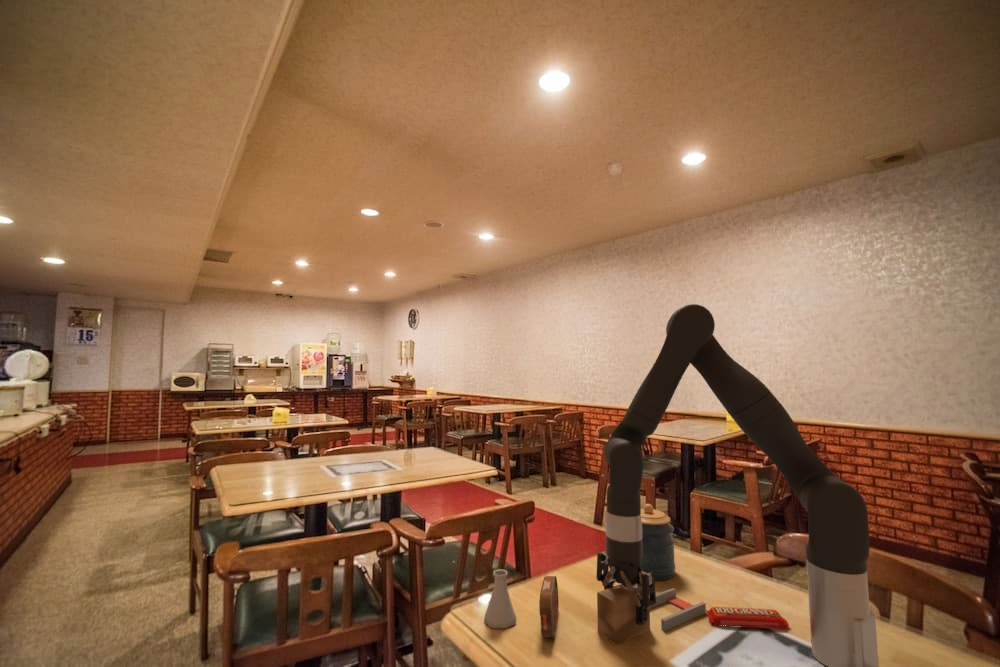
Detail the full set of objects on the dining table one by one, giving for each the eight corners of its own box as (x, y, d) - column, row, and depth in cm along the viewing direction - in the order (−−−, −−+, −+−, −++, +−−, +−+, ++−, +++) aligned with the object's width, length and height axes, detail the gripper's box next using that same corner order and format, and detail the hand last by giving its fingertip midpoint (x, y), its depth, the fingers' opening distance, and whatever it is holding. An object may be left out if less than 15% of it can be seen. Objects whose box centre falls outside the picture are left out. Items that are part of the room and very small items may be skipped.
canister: (642, 557, 131) (640, 495, 133) (684, 572, 121) (682, 504, 123) (615, 569, 123) (614, 503, 124) (658, 586, 113) (656, 514, 114)
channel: (705, 612, 100) (705, 603, 100) (664, 631, 93) (664, 620, 93) (673, 596, 107) (672, 587, 108) (632, 612, 100) (632, 603, 100)
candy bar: (711, 628, 95) (710, 613, 95) (705, 618, 98) (704, 604, 99) (791, 631, 93) (790, 616, 94) (781, 622, 97) (780, 607, 97)
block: (650, 630, 93) (649, 590, 94) (615, 645, 88) (614, 602, 89) (631, 619, 98) (630, 580, 98) (597, 632, 92) (597, 592, 93)
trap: (700, 610, 101) (700, 608, 101) (692, 614, 99) (692, 612, 99) (676, 598, 106) (676, 597, 106) (668, 602, 105) (668, 600, 105)
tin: (554, 647, 87) (553, 601, 88) (538, 645, 88) (537, 600, 89) (559, 608, 102) (559, 569, 103) (545, 606, 103) (545, 568, 103)
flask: (488, 632, 92) (488, 581, 93) (480, 614, 99) (480, 567, 100) (521, 627, 94) (521, 577, 95) (511, 609, 101) (511, 563, 102)
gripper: (663, 541, 91) (665, 625, 89) (612, 521, 103) (612, 595, 102) (637, 548, 87) (639, 636, 86) (587, 527, 99) (588, 603, 98)
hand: (624, 614), depth 94 cm, fingers open, 8 cm apart
